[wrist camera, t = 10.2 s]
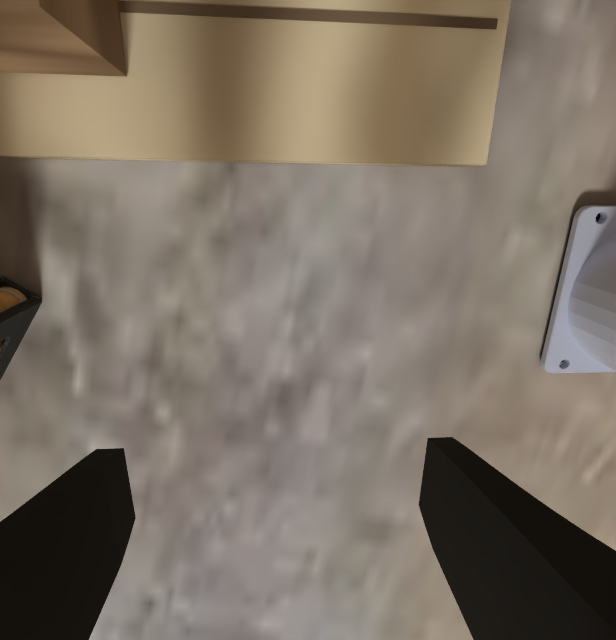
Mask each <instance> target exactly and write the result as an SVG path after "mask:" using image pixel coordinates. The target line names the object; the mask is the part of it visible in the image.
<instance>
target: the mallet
mask: <svg viewBox="0 0 616 640" xmlns="http://www.w3.org/2000/svg"><path fill="white" fill-rule="evenodd" d="M0 72H7V73H37V74H66V75H96V76H126V77H127V72H126V63H125V54H124V45H123V36H122V27H121V19H120V10H119V1H118V0H0Z"/></svg>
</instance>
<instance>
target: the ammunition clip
mask: <svg viewBox="0 0 616 640" xmlns="http://www.w3.org/2000/svg"><path fill="white" fill-rule="evenodd" d="M41 303H42V301H41V299H40V297H38V296H36V295H34V294H32V293H31V292H29V291H27V290H25V289H23V288H22V287H20V286H18V285H16V284H14V283H13V282H11V281H9V280H7V279H5V278H4V277H2V276H1V277H0V380H1V378H2V376H3V374H4V372H5V370H6V368H7V367H8V365H9V363H10V361H11V359H12V357H13V355H14V353H15V352H16V350H17V348H18V346H19V344H20V342H21V340H22V339H23V337H24V335H25V333H26V331H27V329H28V327H29V325H30V324H31V322H32V320H33V318H34V316H35V314H36V312H37V311H38V309H39V307H40V305H41Z"/></svg>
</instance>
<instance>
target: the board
mask: <svg viewBox="0 0 616 640" xmlns="http://www.w3.org/2000/svg"><path fill="white" fill-rule="evenodd" d="M118 1H119V10H120V19H121V27H122V36H123V45H124V54H125V63H126V72H127V77H126V76H96V75H66V74H37V73H7V72H0V156H4V157H13V158H41V159H94V160H147V161H200V162H253V163H306V164H359V165H413V166H466V167H469V166H479V165H486V164H487V157H488V151H489V144H490V137H491V131H492V124H493V118H494V111H495V105H496V98H497V91H498V85H499V78H500V72H501V65H502V59H503V52H504V45H505V39H506V32H507V26H508V19H509V13H510V6H511V0H118Z"/></svg>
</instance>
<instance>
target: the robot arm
mask: <svg viewBox="0 0 616 640" xmlns="http://www.w3.org/2000/svg"><path fill="white" fill-rule="evenodd" d="M599 213H600V219H599V220H598V221H597V222H596V216H597V214H599ZM562 360H564V362H563V363H562V364H561V365H559V364H560V362H561V361H562ZM541 367H542V368H543V369H544V370H545V371H547V372H548V373H584V372H616V206H595V205H587V206H583V207H581V208H579V209H578V211H577V212H576V213H575V216H574V219H573V223H572V227H571V232H570V236H569V240H568V245H567V249H566V253H565V258H564V262H563V267H562V271H561V275H560V280H559V284H558V288H557V293H556V297H555V301H554V306H553V310H552V314H551V319H550V323H549V327H548V332H547V336H546V340H545V345H544V349H543V353H542V358H541ZM419 507H420V510H421V513H422V517H423V520H424V523H425V527H426V530H427V533H428V536H429V539H430V542H431V545H432V548H433V550H434V552H435V555H436V557H437V559H438V561H439V564H440V566H441V568H442V570H443V573H444V575H445V577H446V579H447V582H448V584H449V586H450V588H451V591H452V593H453V595H454V597H455V599H456V602H457V604H458V606H459V608H460V610H461V613H462V615H463V617H464V619H465V622H466V624H467V626H468V628H469V630H470V633H471V635H472V637H473V639H474V640H616V551H615V550H614V549H612V548H610V547H609V546H607V545H605V544H604V543H602V542H601V541H599V540H597V539H596V538H594V537H593V536H591V535H589V534H588V533H586V532H585V531H583V530H582V529H580V528H579V527H577V526H576V525H574V524H573V523H571V522H570V521H568V520H567V519H565V518H564V517H562V516H561V515H559V514H558V513H556V512H555V511H553V510H552V509H550V508H549V507H548V506H546V505H545V504H543V503H542V502H540V501H539V500H537V499H536V498H535V497H533V496H532V495H530V494H529V493H528V492H526V491H525V490H524V489H522V488H521V487H519V486H518V485H517V484H515V483H514V482H513V481H511V480H510V479H508V478H507V477H506V476H504V475H503V474H502V473H500V472H499V471H498V470H496V469H495V468H494V467H492V466H491V465H490V464H488V463H487V462H486V461H484V460H483V459H482V458H480V457H479V456H478V455H476V454H475V453H474V452H472V451H471V450H470V449H468V448H467V447H466V446H464V445H463V444H461V443H460V442H458V441H457V440H455V439H454V438H452V437H445V438H428V441H427V448H426V455H425V463H424V470H423V478H422V485H421V492H420V500H419ZM134 521H135V512H134V506H133V500H132V495H131V489H130V483H129V477H128V471H127V465H126V459H125V453H124V448H120V449H96V450H95V451H93V452H92V453H90V454H89V455H88V456H86V457H85V458H84V459H82V460H81V461H80V462H78V463H77V464H76V465H74V466H73V467H72V468H70V469H69V470H68V471H66V472H65V473H64V474H63V475H61V476H60V477H59V478H57V479H56V480H55V481H54V482H52V483H51V484H50V485H48V486H47V487H46V488H44V489H43V490H42V491H41V492H39V493H38V494H37V495H35V496H34V497H33V498H31V499H30V500H29V501H27V502H26V503H25V504H23V505H22V506H21V507H19V508H18V509H17V510H16V511H14V512H13V513H12V514H10V515H9V516H8V517H6V518H5V519H4V520H2V521H1V522H0V640H89V638H90V635H91V633H92V631H93V628H94V626H95V624H96V622H97V619H98V617H99V615H100V613H101V610H102V608H103V606H104V603H105V601H106V599H107V596H108V594H109V592H110V589H111V587H112V585H113V583H114V580H115V578H116V576H117V573H118V571H119V568H120V566H121V563H122V560H123V557H124V554H125V551H126V548H127V545H128V541H129V538H130V535H131V531H132V528H133V524H134Z"/></svg>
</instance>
